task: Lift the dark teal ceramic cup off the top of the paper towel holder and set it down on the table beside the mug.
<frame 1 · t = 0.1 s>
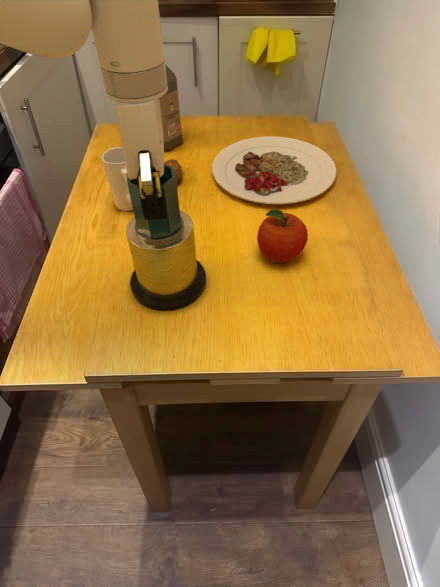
hand: (155, 198, 61), 19 cm above the table, tool pointing down, fingers open, 9 cm apart
towel holder: (168, 282, 76), on the table
croissant: (169, 181, 99), on the table
fruit: (280, 254, 81), on the table
mug: (131, 207, 93), on the table
plated food: (272, 173, 101), on the table
teal cup: (159, 223, 66), point 14 cm above the table, touching gripper, towel holder
liquor: (164, 143, 112), on the table
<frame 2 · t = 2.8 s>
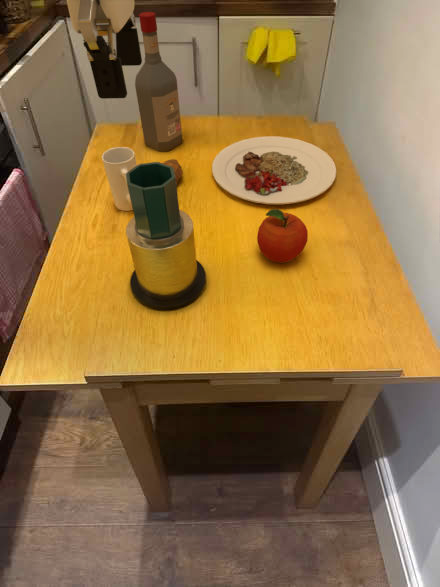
hand: (122, 79, 49), 36 cm above the table, tool pointing down, fingers open, 9 cm apart
teal cup: (158, 224, 66), point 14 cm above the table, touching towel holder
everything else where it was.
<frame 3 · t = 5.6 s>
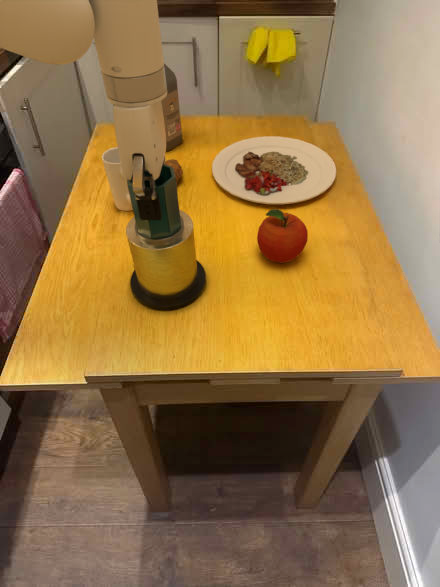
hand: (155, 201, 63), 18 cm above the table, tool pointing down, fingers closed on teal cup, 7 cm apart
teal cup: (158, 223, 66), point 14 cm above the table, touching gripper, towel holder
everything else where it was.
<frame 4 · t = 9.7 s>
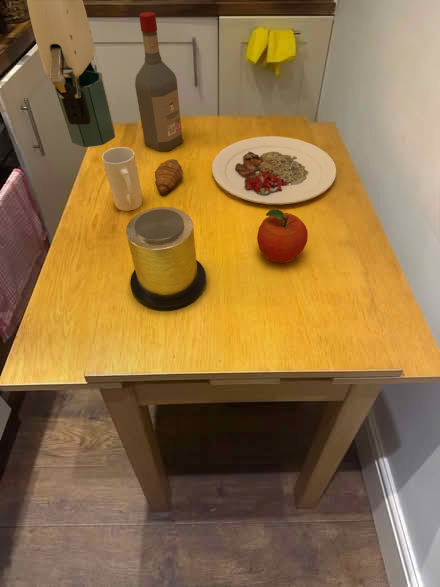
hand: (87, 110, 65), 27 cm above the table, tool pointing down, fingers closed on teal cup, 7 cm apart
teal cup: (93, 136, 68), point 23 cm above the table, touching gripper
everything else where it was.
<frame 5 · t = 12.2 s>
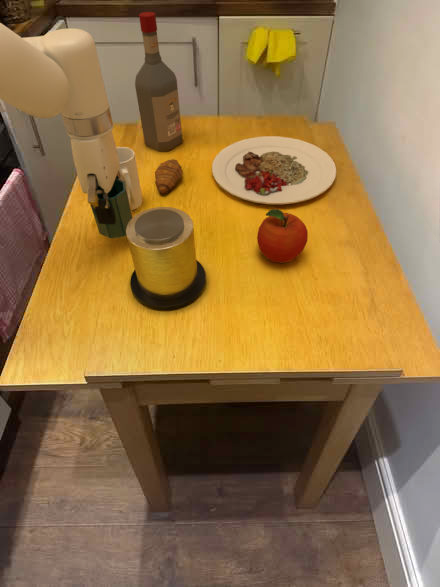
hand: (112, 209, 79), 8 cm above the table, tool pointing down, fingers closed on teal cup, 7 cm apart
teal cup: (116, 226, 82), point 4 cm above the table, touching gripper
everything else where it was.
when the fingers open (4 cm above the table, at t = 13.9 s): teal cup stays where it is, on the table.
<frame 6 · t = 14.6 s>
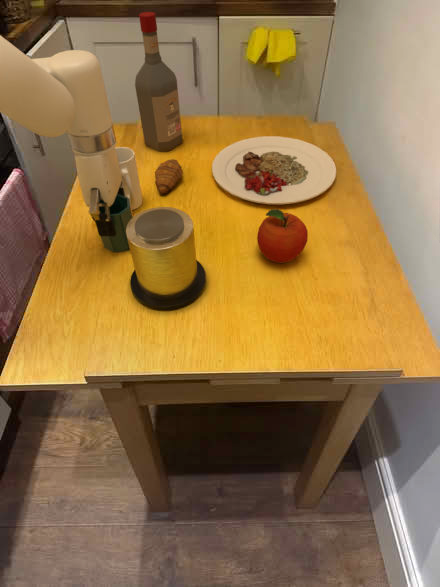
hand: (113, 219, 80), 6 cm above the table, tool pointing down, fingers open, 9 cm apart
teal cup: (120, 240, 85), on the table
everything else where it was.
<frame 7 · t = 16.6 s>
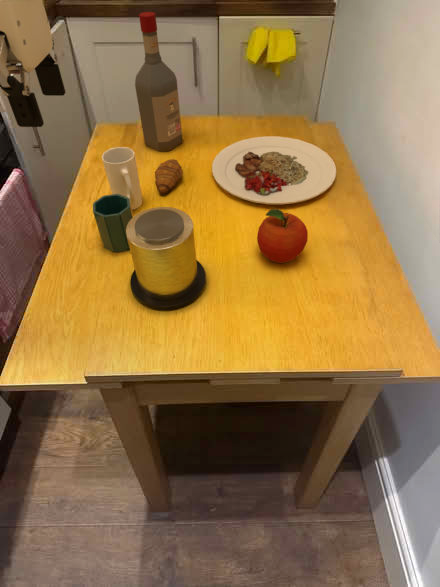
hand: (43, 109, 55), 31 cm above the table, tool pointing down, fingers open, 9 cm apart
nothing on the table moved.
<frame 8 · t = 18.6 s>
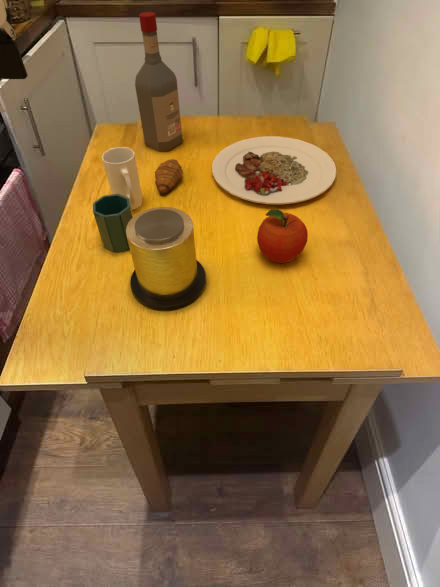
nothing on the table moved.
at the end: teal cup 11.6 cm from the mug (horizontally); teal cup on the table; teal cup tilted 0° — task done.
